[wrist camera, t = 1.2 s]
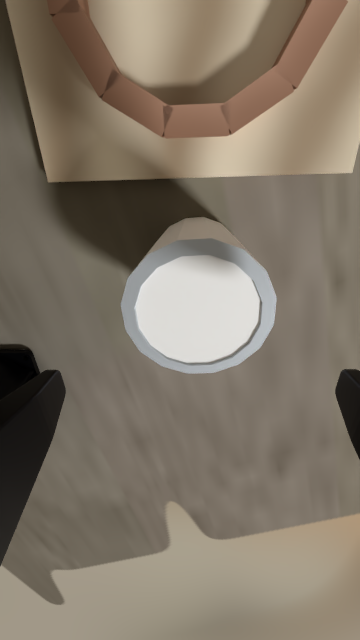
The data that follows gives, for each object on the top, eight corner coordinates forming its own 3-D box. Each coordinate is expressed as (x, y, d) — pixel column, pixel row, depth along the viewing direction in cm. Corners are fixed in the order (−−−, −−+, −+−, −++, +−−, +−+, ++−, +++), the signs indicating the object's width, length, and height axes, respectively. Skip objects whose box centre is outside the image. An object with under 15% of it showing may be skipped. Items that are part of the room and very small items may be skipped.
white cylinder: (273, 243, 18) (312, 291, 12) (212, 324, 21) (219, 394, 15) (176, 182, 17) (166, 203, 11) (126, 279, 20) (96, 338, 14)
